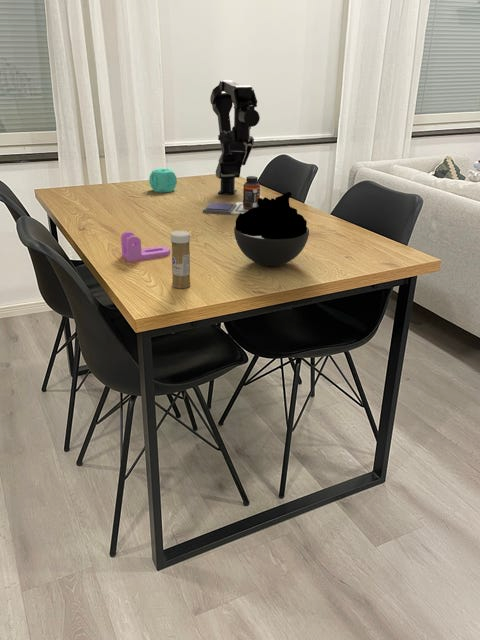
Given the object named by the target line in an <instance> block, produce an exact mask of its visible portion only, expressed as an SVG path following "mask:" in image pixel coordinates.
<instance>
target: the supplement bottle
mask: <svg viewBox="0 0 480 640" xmlns="http://www.w3.org/2000/svg"><path fill="white" fill-rule="evenodd" d="M258 178H259V177H258V176H255V175H248V176H246V180H245V181H246V182H244V184H243V193H242V194H243V195H242V198H243V199H242V203H243V208H244V209H247V210H249V209H252V208H255V207H259V205H258V203H257V202H258V198H261V197H260V196H261V194H260V193H261V185H260V183H259V182H258V181H259V179H258Z"/></svg>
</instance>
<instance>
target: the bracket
mask: <svg viewBox="0 0 480 640" xmlns="http://www.w3.org/2000/svg"><path fill="white" fill-rule="evenodd" d="M120 240H121V241H120V242H121V256H122V257H123V258H124V259H125V260H126V261H127V262H128V263H129V262H138V261H143V260H148V259H150V258H151V259H156V257H157V258H162V257H163V256H164V257H167V255H168V256H170V254H171V248H170V247H168V246H162V245H160V246H159V245H158V246H151V247H143V248H142V242H141V238H139V237H138V236H137V235H135V234H134V233H133V232H132V231H130V230H129V231H127V230H126V231H124V232H123V233H122V234H121V236H120Z"/></svg>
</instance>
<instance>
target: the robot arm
mask: <svg viewBox="0 0 480 640" xmlns="http://www.w3.org/2000/svg"><path fill="white" fill-rule="evenodd" d="M209 102H210V104H211V107H212V111H213V112H214V113H215V115H216V116H217V124H218V130H219V134H218V135H217V136H218V137H217V140H218V141H219V143H220V148H221V150H220V151H221V154H220V156H219V159H218V164H217V167H216V169H215V177H216V178H217V179H220V189H219V191H218V192H217V193H218V195H219V194H220V195H221V194H222V195H235V194H236V192H238V191H237V189H235V188H236V187H235V183H236V178H237V179H240V176H241V170H242V166H246V164H247V161H248V158H249V157H250V154H251V152H252V149H253V147H254V144H255V138H254V137H253V136H252V135H251V129H252V127H255V126H257V125H258V124H259V122H260V119H261V118H260V113H259V112H258V111H257V110H256V109H255V108H257V107H258V99H257V96H256V94H255V89H253V86H252V85H241V84H239V83H236V82H235V81H234V80H232V79H222V80H220V81H219V83H218V85H217V86H215V87H214V88H213V89H212V91H211V94H210V99H209ZM232 108H233V109H234V110H233V112H234V114H233V115H234V116H233V117H234V118H233V119H234V120H233V126H232V124H231V115H230V113H231V110H232ZM250 135H251V136H250Z"/></svg>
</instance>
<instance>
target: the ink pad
mask: <svg viewBox="0 0 480 640" xmlns="http://www.w3.org/2000/svg"><path fill="white" fill-rule="evenodd" d="M236 206H237V204H236V203H231V202H230V203H229V202H228V203H226V202H216V201H215V202H214V201H212V202H209V203H208V204H207V205H206V206H205V207H204V208H203V209H202V213H206V214H219V215H220V214H221V215H232V214H231V212H232V211H233V210H234V208H235V207H236Z"/></svg>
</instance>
